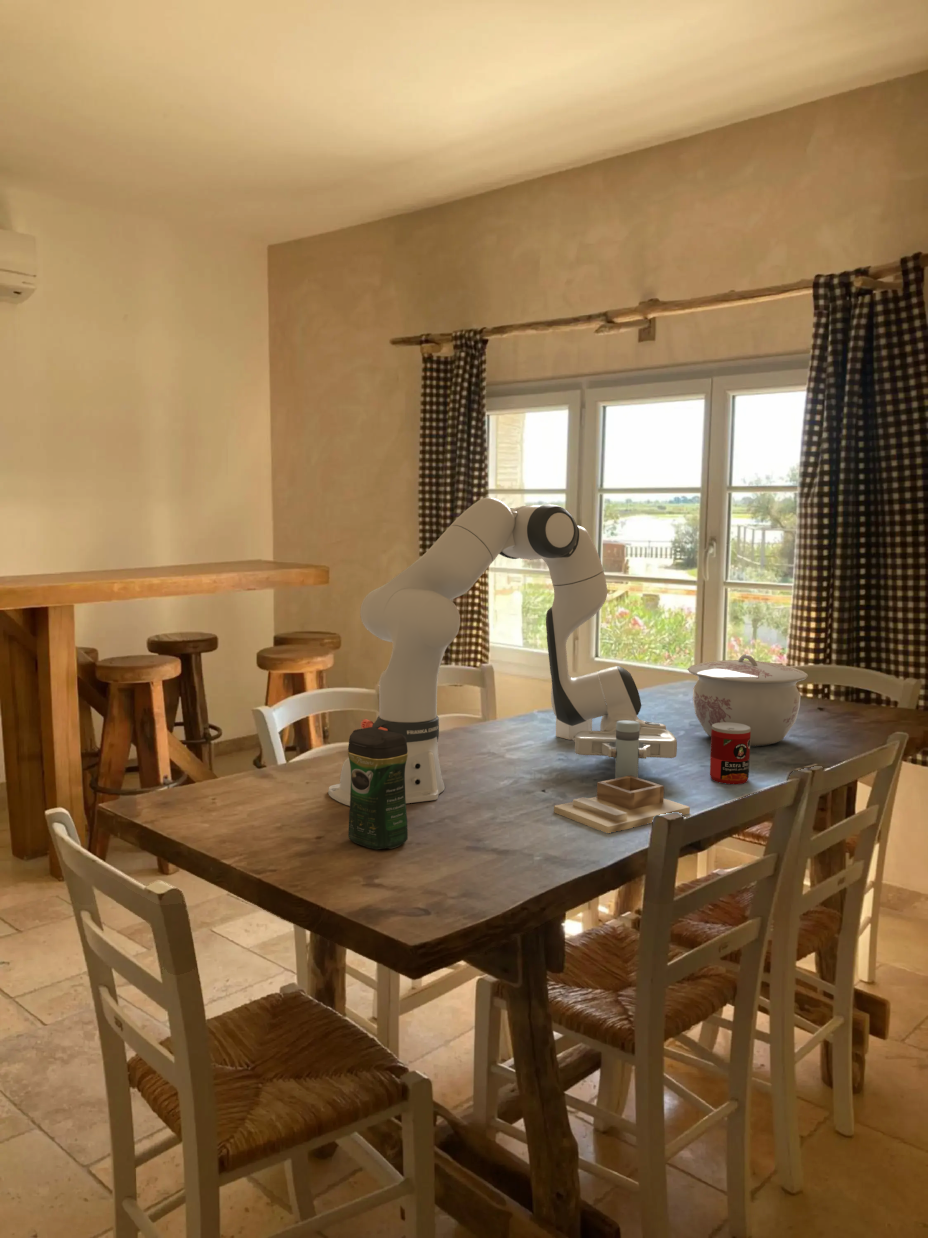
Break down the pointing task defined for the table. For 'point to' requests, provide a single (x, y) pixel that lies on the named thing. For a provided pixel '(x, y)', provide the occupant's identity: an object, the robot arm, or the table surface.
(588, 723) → the jar
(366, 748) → the coffee jar
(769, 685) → the chamber pot
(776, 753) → the table surface
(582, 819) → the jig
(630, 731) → the insulated water bottle
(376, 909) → the table surface
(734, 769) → the canned food
